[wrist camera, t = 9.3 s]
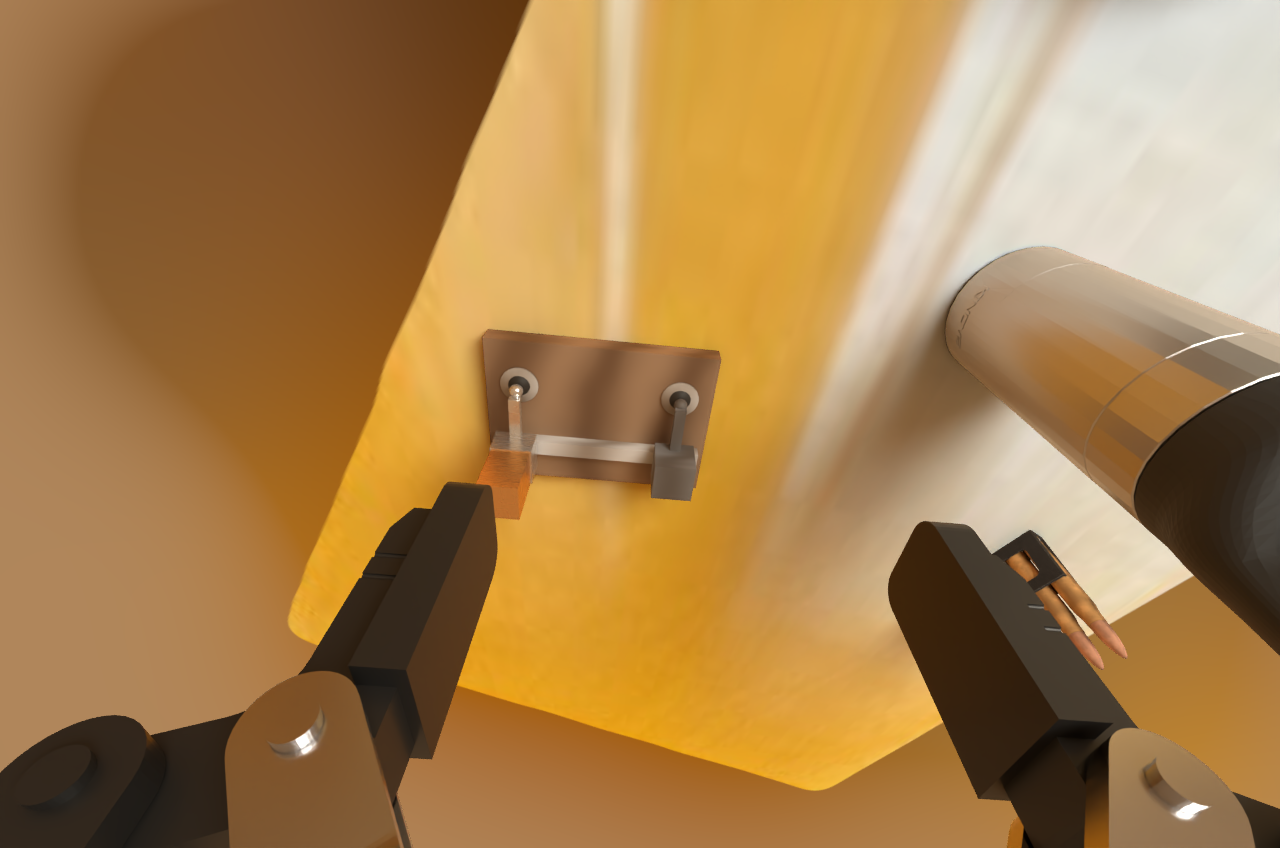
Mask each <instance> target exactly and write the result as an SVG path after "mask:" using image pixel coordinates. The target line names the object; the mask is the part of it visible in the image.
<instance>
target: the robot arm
mask: <svg viewBox="0 0 1280 848" xmlns="http://www.w3.org/2000/svg"><path fill="white" fill-rule="evenodd" d="M945 336H946V343H947V346H948V348H949V351H950V353H951V355H952V356H953V357H954V358H955V359H956V360H957V361H958V362H959V363H960V364H961V365H962V366H963V367H964V368H965V369H967V370H968V371H969V372H970V373H971V374H972V375H973V376H974V377H976V378H977V379H978V380H979V381H980V382H981V383H982V384H983V385H984V386H986V387H987V388H988V389H989V390H990V391H991V392H992V393H993V394H994V395H996V396H997V397H998V398H999V399H1000V400H1001V401H1002V402H1004V403H1005V404H1006V405H1007V406H1008V407H1009V408H1010V409H1011V410H1013V411H1014V412H1015V413H1016V414H1017V415H1018V416H1019V417H1021V418H1022V419H1023V420H1024V421H1025V422H1026V423H1027V424H1029V425H1030V426H1031V427H1032V428H1033V429H1034V430H1035V431H1036V432H1038V433H1039V434H1040V435H1041V436H1042V437H1043V438H1044V439H1046V440H1047V441H1048V442H1049V443H1050V444H1051V445H1052V446H1054V447H1055V448H1056V449H1057V450H1058V451H1059V452H1060V453H1061V454H1063V455H1064V456H1065V457H1066V458H1067V459H1068V460H1069V461H1071V462H1072V463H1073V464H1074V465H1075V466H1076V467H1077V468H1078V469H1080V470H1081V471H1082V472H1083V473H1084V474H1085V475H1086V476H1088V477H1089V478H1090V479H1091V480H1092V481H1093V482H1095V483H1096V484H1097V485H1098V486H1099V487H1100V488H1102V489H1103V490H1104V491H1105V492H1106V493H1107V494H1108V495H1110V496H1111V497H1112V498H1113V499H1114V500H1115V501H1116V502H1117V503H1119V504H1120V505H1121V506H1122V507H1123V508H1124V509H1125V510H1127V511H1128V512H1129V513H1130V514H1131V515H1132V516H1133V517H1134V518H1136V519H1137V520H1138V521H1139V522H1140V523H1141V524H1142V525H1143V526H1144V527H1145V528H1146V529H1147V530H1149V531H1150V532H1151V533H1152V534H1153V535H1154V536H1156V537H1157V538H1158V539H1159V540H1160V541H1161V542H1162V543H1164V544H1165V545H1166V546H1167V547H1168V548H1169V549H1170V550H1171V551H1172V552H1173V553H1174V555H1175V556H1176V557H1177V558H1178V559H1179V560H1180V561H1181V562H1182V564H1183V565H1184V566H1185V567H1186V568H1187V569H1188V570H1189V571H1190V572H1191V573H1192V574H1193V575H1194V576H1195V577H1196V578H1197V579H1198V580H1200V582H1201V583H1203V584H1204V585H1205V586H1206V587H1207V588H1208V589H1209V590H1210V591H1211V592H1212V593H1214V594H1215V595H1216V596H1217V597H1218V598H1219V599H1220V600H1221V601H1222V602H1224V604H1226V605H1227V606H1228V607H1229V608H1230V609H1231V610H1232V611H1234V613H1235V614H1237V615H1238V616H1239V617H1240V618H1241V619H1242V620H1243V621H1244V622H1245V623H1246V624H1247V625H1248V626H1250V627H1251V628H1252V629H1253V630H1254V631H1255V632H1256V633H1257V634H1258V635H1259V636H1260V637H1261V638H1262V639H1263V640H1264V641H1265V642H1266V643H1267V644H1268V645H1269V646H1270V647H1271V648H1272V649H1273V650H1274V651H1275V652H1276V653H1277V654H1279V655H1280V335H1279V334H1277V333H1274V332H1272V331H1269V330H1267V329H1264V328H1262V327H1259V326H1256V325H1254V324H1251V323H1249V322H1246V321H1244V320H1241V319H1238V318H1236V317H1233V316H1231V315H1228V314H1226V313H1223V312H1220V311H1218V310H1215V309H1213V308H1210V307H1208V306H1205V305H1202V304H1200V303H1197V302H1195V301H1192V300H1190V299H1187V298H1184V297H1182V296H1179V295H1177V294H1174V293H1172V292H1169V291H1166V290H1164V289H1161V288H1159V287H1156V286H1154V285H1151V284H1148V283H1146V282H1143V281H1141V280H1138V279H1136V278H1133V277H1131V276H1128V275H1125V274H1123V273H1120V272H1118V271H1115V270H1113V269H1110V268H1108V267H1106V266H1103V265H1100V264H1098V263H1095V262H1093V261H1090V260H1087V259H1085V258H1082V257H1079V256H1077V255H1074V254H1071V253H1069V252H1066V251H1064V250H1061V249H1058V248H1052V247H1044V246H1042V247H1032V248H1025V249H1022V250H1018V251H1015V252H1012V253H1009V254H1007V255H1005V256H1003V257H1001V258H999V259H997V260H995V261H993V262H992V263H990V264H989V265H987V266H986V267H985V268H983V269H982V270H980V271H979V272H978V273H977V274H976V275H975V276H974V277H973V278H972V279H971V280H969V281H968V283H967V284H966V285H965V286H964V288H963V289H962V290H961V291H960V293H959V294H958V295H957V297H956V299H955V301H954V303H953V304H952V306H951V308H950V311H949V314H948V317H947V320H946V329H945ZM496 559H497V534H496V523H495V513H494V502H493V493H492V488H491V486H490V485H484V484H471V483H459V482H448V483H446V484H445V486H444V487H443V489H442V491H441V492H440V494H439V496H438V498H437V500H436V502H435V504H434V506H433V507H432V509H423V508H413V509H412V510H411V511H410V512H409V513H407V514H406V515H405V516H404V517H402V518H401V519H400V520H399V521H398V522H396V523H395V524H394V525H393V526H391V527H390V528H389V530H388V532H387V533H386V535H385V537H384V538H383V540H382V542H381V543H380V545H379V547H378V548H377V550H376V551H375V556H374V557H372V558H371V560H370V561H369V563H368V565H367V566H366V568H365V570H364V571H363V576H362V578H359V579H358V581H357V583H356V584H355V586H354V588H353V589H352V591H351V593H350V594H349V596H348V598H347V599H346V601H345V602H344V604H343V606H342V607H341V609H340V611H339V612H338V614H337V616H336V617H335V619H334V621H333V622H332V624H331V626H330V627H329V629H328V630H327V632H326V634H325V635H324V637H323V639H322V640H321V642H320V644H319V645H318V647H317V649H316V650H315V652H314V654H313V655H312V657H311V658H310V660H309V661H308V663H307V664H306V666H305V667H304V669H303V670H302V671H301V672H300V673H299V674H298V675H297V676H294V677H292V678H289V679H287V680H285V681H283V682H281V683H279V684H277V685H276V686H275V687H273V688H271V689H270V690H268V691H267V692H265V693H264V694H263V695H262V696H260V697H259V698H258V699H257V700H256V701H255V702H254V703H253V704H252V705H251V706H250V707H249V708H248V709H247V710H246V711H244V712H242V713H239V714H236V715H232V716H229V717H225V718H221V719H217V720H213V721H209V722H205V723H200V724H196V725H192V726H188V727H183V728H179V729H175V730H171V731H167V732H163V733H158V734H154V735H149V733H148V732H147V731H146V730H145V729H144V728H143V726H142V725H141V724H140V723H138V722H137V721H136V720H134V719H132V718H129V717H126V716H117V715H111V716H101V717H96V718H92V719H88V720H85V721H82V722H79V723H76V724H73V725H71V726H69V727H66V728H64V729H62V730H60V731H58V732H56V733H54V734H52V735H50V736H48V737H47V738H45V739H43V740H42V741H40V742H39V743H37V744H35V745H34V746H32V747H31V748H29V749H28V750H27V751H25V752H24V753H23V754H21V755H20V756H19V757H17V758H16V759H15V760H14V761H13V762H12V763H10V764H9V765H8V766H7V767H6V768H5V769H4V770H3V771H2V772H1V773H0V848H413V845H412V842H411V838H410V835H409V832H408V828H407V824H406V821H405V817H404V814H403V810H402V807H401V804H400V800H399V797H398V793H397V791H398V788H399V786H400V783H401V780H402V777H403V775H404V772H405V769H406V767H407V764H408V761H409V758H419V759H420V758H421V759H432V757H433V755H434V752H435V749H436V746H437V742H438V739H439V737H440V734H441V731H442V727H443V725H444V721H445V719H446V715H447V713H448V710H449V707H450V704H451V701H452V698H453V695H454V692H455V689H456V686H457V683H458V680H459V677H460V674H461V671H462V668H463V665H464V662H465V659H466V656H467V653H468V650H469V647H470V644H471V641H472V638H473V635H474V632H475V629H476V626H477V623H478V620H479V617H480V614H481V611H482V608H483V605H484V602H485V599H486V596H487V593H488V590H489V587H490V584H491V581H492V578H493V575H494V571H495V566H496ZM888 596H889V602H890V605H891V608H892V611H893V613H894V615H895V617H896V619H897V622H898V624H899V626H900V628H901V630H902V633H903V635H904V637H905V639H906V641H907V643H908V646H909V648H910V650H911V652H912V654H913V657H914V659H915V661H916V663H917V665H918V668H919V670H920V672H921V674H922V676H923V678H924V681H925V683H926V685H927V687H928V689H929V692H930V694H931V696H932V698H933V700H934V703H935V705H936V707H937V709H938V711H939V713H940V716H941V718H942V720H943V722H944V724H945V727H946V729H947V731H948V733H949V735H950V737H951V739H952V742H953V744H954V746H955V748H956V750H957V753H958V755H959V757H960V759H961V762H962V764H963V766H964V768H965V770H966V772H967V775H968V777H969V779H970V781H971V783H972V786H973V788H974V789H975V792H976V794H977V797H978V799H991V800H1007V801H1011V803H1012V805H1013V807H1014V809H1015V811H1016V813H1017V815H1018V817H1016V819H1014V820H1013V822H1012V824H1011V826H1010V830H1009V836H1008V843H1007V848H1280V809H1278V808H1275V807H1273V806H1270V805H1267V804H1264V803H1262V802H1259V801H1256V800H1254V799H1251V798H1248V797H1245V796H1243V795H1240V794H1237V793H1234V792H1232V791H1231V790H1230V789H1229V788H1228V787H1227V785H1226V784H1225V783H1224V782H1223V781H1222V780H1221V779H1220V778H1219V777H1218V776H1217V775H1216V774H1215V773H1214V772H1213V771H1212V770H1211V769H1210V768H1209V767H1208V766H1207V765H1205V764H1204V763H1203V762H1201V761H1200V760H1199V759H1198V758H1197V757H1195V756H1194V755H1193V754H1191V753H1190V752H1188V751H1187V750H1186V749H1184V748H1183V747H1181V746H1179V745H1177V744H1176V743H1174V742H1172V741H1171V740H1169V739H1167V738H1164V737H1162V736H1160V735H1158V734H1155V733H1152V732H1150V731H1146V730H1142V729H1139V728H1138V727H1137V726H1136V725H1135V724H1134V723H1133V721H1132V720H1131V719H1130V717H1129V716H1128V715H1127V713H1126V712H1125V711H1124V710H1123V708H1122V707H1121V705H1120V704H1119V703H1118V701H1117V700H1116V699H1115V697H1114V696H1113V695H1112V694H1111V692H1110V691H1109V690H1108V688H1107V687H1106V686H1105V684H1104V683H1103V682H1102V680H1101V679H1100V678H1099V676H1098V675H1097V674H1096V672H1095V671H1094V670H1093V668H1092V667H1091V666H1090V664H1088V662H1087V661H1086V659H1085V658H1084V657H1083V655H1082V654H1081V653H1080V651H1079V650H1078V649H1077V647H1076V646H1075V645H1074V643H1073V642H1072V641H1071V639H1070V638H1069V637H1068V635H1067V634H1066V633H1062V632H1061V626H1060V625H1059V624H1058V622H1057V621H1056V620H1055V618H1054V617H1053V616H1052V614H1051V613H1050V612H1049V610H1045V609H1044V604H1043V602H1042V601H1041V600H1040V598H1039V597H1038V596H1037V595H1036V593H1035V592H1034V591H1033V589H1032V588H1031V587H1030V585H1029V584H1028V583H1027V581H1026V580H1025V579H1024V578H1023V577H1022V576H1021V575H1019V574H1018V573H1017V572H1016V571H1015V570H1013V569H1012V568H1011V567H1010V566H1009V565H1007V564H1006V563H1005V562H1004V561H1003V560H1001V559H1000V558H999V557H998V556H997V555H991V553H990V552H989V551H988V549H987V548H986V546H985V545H984V544H983V542H982V541H981V539H980V538H979V537H978V535H977V534H976V533H975V531H974V530H973V529H972V528H971V527H969V526H967V525H964V524H953V523H941V522H928V521H923V522H920V523H919V524H918V525H917V526H916V527H915V529H914V531H913V532H912V534H911V536H910V538H909V540H908V542H907V544H906V546H905V548H904V550H903V552H902V554H901V556H900V558H899V559H898V561H897V563H896V565H895V567H894V569H893V571H892V573H891V575H890V578H889V583H888Z"/></svg>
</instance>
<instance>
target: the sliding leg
mask: <svg viewBox="0 0 1280 848" xmlns="http://www.w3.org/2000/svg"><path fill="white" fill-rule="evenodd" d="M509 393H510V395H511V396H510V397H509V399H508V411H509V430H510V432H502V431H497V432H496V435H495V437H494V439H493V441H492V444H491V446H490V453H489V455H488V457H487V460H486V462H485V464H484V466H483V469H482V471H481V473H480V475H479V478H478V480H477V482H476V484H484V485H490V486H491V488H492V493H493V502H494V513H495V518H506V519H518V520H519V519H520V516H521V513H522V509H523V506H524V503H525V500H526V496H527V493H528V490H529V486H530V483H532V482H533V479H534V475H535V472H536V469H537V435H536V434H525V433H522V412H521V397H520V396H521V395H522V394H523V388H522V386H520V385H519V384H513V385H512V386H511V387H510V388H509Z"/></svg>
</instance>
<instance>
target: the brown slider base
mask: <svg viewBox="0 0 1280 848" xmlns="http://www.w3.org/2000/svg"><path fill="white" fill-rule="evenodd" d="M482 339H483V351H484V364H485V377H486V389H487V402H488V415H489V427H490V440H491V444H492V441H493V439H494V437H495V435H496V432H497V431H502V432H510V430H509V411H508V399H509V397H510V396H511V395H510V393H509V388H510V387H511V386H512V385H513V384H519V385H520V386H522V388H523V394H522V395H521V396H520V397H521V412H522V433H525V434H536V435H537V469H536V472H535V475H547V476H559V477H571V478H583V479H595V480H607V481H618V482H630V483H642V484H651V498H660V499H672V500H684V501H691V496H692V491H693V488H696V483H697V478H698V473H699V468H700V463H701V458H702V453H703V448H704V443H705V438H706V433H707V428H708V423H709V418H710V413H711V408H712V403H713V398H714V393H715V388H716V383H717V378H718V373H719V369H720V364H721V357H720V353H719V351H713V350H703V349H692V348H682V347H671V346H660V345H650V344H639V343H629V342H618V341H607V340H597V339H586V338H576V337H565V336H554V335H544V334H533V333H523V332H512V331H501V330H491V329H488V330H487V332H486V333H485V334H484V336H483V337H482Z"/></svg>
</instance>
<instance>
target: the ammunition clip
mask: <svg viewBox="0 0 1280 848" xmlns="http://www.w3.org/2000/svg"><path fill="white" fill-rule="evenodd" d="M991 555H997V556H998V557H999V558H1000V559H1001V560H1003V561H1004V562H1005V563H1006V564H1007V565H1009V566H1010V567H1011V568H1012V569H1013V570H1015V571H1016V572H1017V573H1018V574H1019V575H1021V576H1022V577H1023V578H1024V579H1025V580H1026V581H1027V583H1028V584H1029V585H1030V587H1031V588H1032V589H1033V591H1034V592H1035V593H1036V595H1037V596H1038V597H1039V598H1040V600H1041V601H1042V602H1043V604H1044V609H1045V610H1049V612H1050V613H1051V614H1052V616H1053V617H1054V618H1055V620H1056V621H1057V622H1058V624H1059V625H1060V626H1061V631H1062V632H1063V633H1066V634H1067V635H1068V637H1069V638H1070V639H1071V641H1072V642H1073V643H1074V645H1075V646H1076V647H1077V649H1078V650H1079V651H1080V653H1081V654H1082V655H1083V656H1084V657H1085V658H1086V659H1088V660H1089V661H1090V662H1091V663H1092V664H1093V665H1095V666H1096V667H1098V668H1099V669H1101V670H1103V669H1104V666H1103V662H1102V660H1101V657H1100V655H1099V653H1098V652H1097V650H1096V648H1095V647H1094V645H1093V644H1092V642H1091V641H1090V639H1089V638H1088V637H1087V636H1086V634H1085V632H1084V631H1083V630H1082V628H1081V627H1080V625H1079V624H1078V622H1077V620H1076V618H1075V616H1074V615H1073V613H1072V612H1071V611H1070V610H1069V608H1068V607H1067V606H1066V605H1065V603H1064V602H1063V601H1062V600H1061V598H1060V597H1059V596H1058V595H1057V594H1058V593H1059V595H1060V596H1061V597H1062V598H1063V599H1064V601H1065V602H1066V603H1067V604H1068V606H1069V607H1070V608H1071V609H1072V610H1073V612H1074V613H1075V614H1076V615H1077V616H1079V617H1080V618H1081V619H1082V620H1083V621H1084V622H1085V623H1086V624H1087V625H1088V626H1089V627H1090V628H1091V629H1092V630H1093V632H1094V633H1095V634H1096V635H1097V636H1098V637H1099V638H1100V639H1101V640H1102V641H1103V642H1104V643H1105V644H1106V645H1107V646H1108V647H1109V648H1110V649H1111V650H1113V651H1114V652H1115V653H1116V654H1118V655H1119V656H1121V657H1123V658H1125V659H1126V658H1127V653H1126V650H1125V648H1124V646H1123V644H1122V642H1121V640H1120V639H1119V638H1118V636H1117V634H1116V633H1115V632H1114V630H1113V629H1112V628H1111V627H1110V625H1109V624H1108V623H1107V621H1106V620H1105V619H1104V617H1103V616H1102V615H1101V613H1100V612H1099V610H1098V608H1097V606H1096V605H1095V604H1094V602H1093V601H1092V600H1091V599H1090V598H1089V596H1088V595H1087V594H1086V593H1085V592H1084V591H1083V589H1082V588H1081V587H1080V586H1079V585H1078V583H1077V582H1076V581H1075V579H1074V578H1073V577H1072V576H1071V574H1070V573H1069V572H1068V570H1067V569H1066V568H1065V567H1064V565H1063V564H1062V563H1061V562H1060V560H1059V559H1058V558H1057V556H1056V555H1055V554H1054V553H1053V551H1052V550H1051V549H1050V547H1049V546H1048V545H1047V544H1046V542H1045V541H1044V540H1043V538H1042V537H1040V536H1039V535H1037V534H1036V533H1034V532H1033V531H1032V530H1029V531H1027V532H1026V533H1024V534H1022V535H1021V536H1019V537H1018V538H1016V539H1015V540H1013V541H1012V542H1010V543H1009V544H1007V545H1005V546H1004V547H1002V548H1001V549H999V550H998V551H996V552H995V553H993V554H991ZM1030 560H1032V562H1033V563H1034V564H1035V565H1036V567H1037V568H1038V569H1039V571H1038V570H1037V568H1036V567H1035V566H1034V565H1033V563H1032V562H1031V561H1030Z"/></svg>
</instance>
